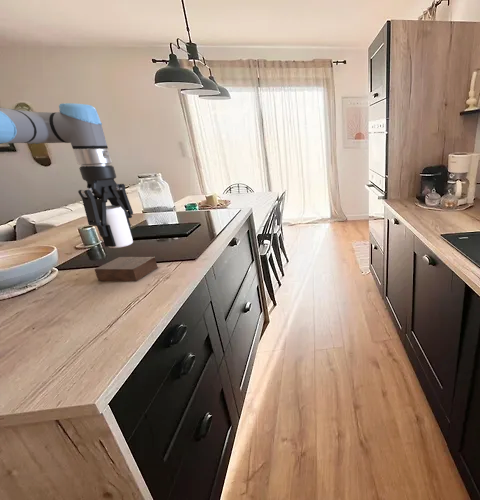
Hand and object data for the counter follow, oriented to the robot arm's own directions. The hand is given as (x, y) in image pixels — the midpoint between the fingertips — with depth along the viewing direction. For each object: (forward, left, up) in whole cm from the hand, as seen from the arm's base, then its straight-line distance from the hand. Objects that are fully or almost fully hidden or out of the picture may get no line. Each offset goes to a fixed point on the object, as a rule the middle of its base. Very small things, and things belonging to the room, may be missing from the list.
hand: (119, 242), depth 89 cm
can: (0, 0, -1) cm, 1 cm away
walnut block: (0, 0, -11) cm, 11 cm away
